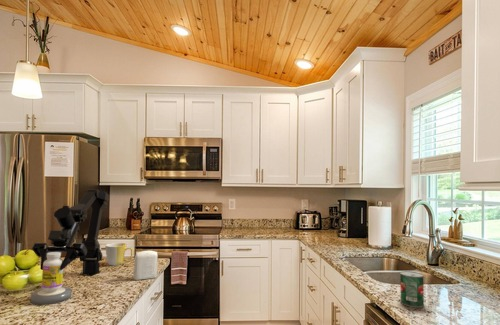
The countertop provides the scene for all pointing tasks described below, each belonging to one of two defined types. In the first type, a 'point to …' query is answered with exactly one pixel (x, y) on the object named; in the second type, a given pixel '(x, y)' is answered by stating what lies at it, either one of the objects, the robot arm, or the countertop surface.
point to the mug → (116, 253)
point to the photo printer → (145, 265)
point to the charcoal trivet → (50, 296)
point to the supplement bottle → (52, 272)
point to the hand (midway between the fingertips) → (51, 269)
